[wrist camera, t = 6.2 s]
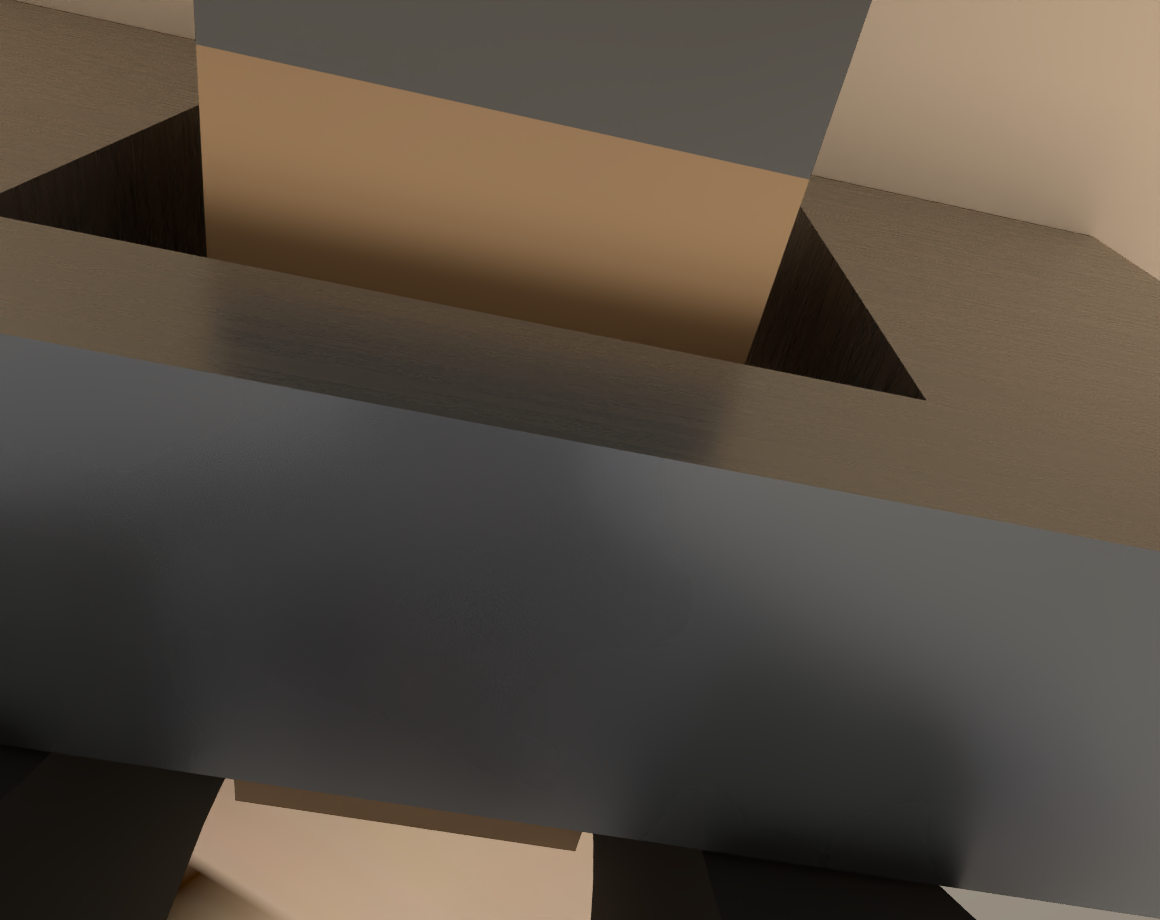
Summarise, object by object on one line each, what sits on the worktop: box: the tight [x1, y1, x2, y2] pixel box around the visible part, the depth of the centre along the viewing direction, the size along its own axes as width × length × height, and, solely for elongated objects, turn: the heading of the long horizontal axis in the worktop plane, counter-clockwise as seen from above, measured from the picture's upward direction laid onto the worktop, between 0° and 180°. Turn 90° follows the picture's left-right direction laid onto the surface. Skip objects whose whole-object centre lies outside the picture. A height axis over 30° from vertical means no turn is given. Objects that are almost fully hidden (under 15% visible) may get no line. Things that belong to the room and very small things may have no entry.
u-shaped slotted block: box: [0, 0, 1160, 919], centre depth 7 cm, size 3×14×7 cm, turn 79°
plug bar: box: [194, 0, 872, 851], centre depth 8 cm, size 11×4×4 cm, turn 169°
